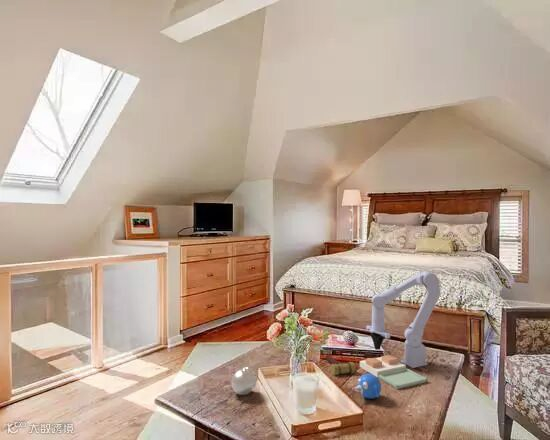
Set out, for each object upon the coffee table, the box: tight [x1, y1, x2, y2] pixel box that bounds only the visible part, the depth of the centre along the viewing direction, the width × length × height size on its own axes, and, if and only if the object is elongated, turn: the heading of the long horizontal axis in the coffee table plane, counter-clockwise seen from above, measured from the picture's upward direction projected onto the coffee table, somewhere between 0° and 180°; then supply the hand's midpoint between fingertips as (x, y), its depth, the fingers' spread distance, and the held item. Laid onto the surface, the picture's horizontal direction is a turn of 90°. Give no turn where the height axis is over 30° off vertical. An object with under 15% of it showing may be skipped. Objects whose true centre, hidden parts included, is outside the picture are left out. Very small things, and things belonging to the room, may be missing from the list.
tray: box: [377, 367, 428, 390], centre depth 149 cm, size 16×11×2 cm
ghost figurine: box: [230, 366, 257, 396], centre depth 136 cm, size 9×10×10 cm
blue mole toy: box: [351, 373, 382, 400], centre depth 134 cm, size 12×12×8 cm
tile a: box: [380, 354, 399, 365], centre depth 162 cm, size 5×5×2 cm
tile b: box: [365, 357, 382, 368], centre depth 158 cm, size 5×5×2 cm
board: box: [359, 356, 407, 378], centre depth 160 cm, size 16×12×2 cm
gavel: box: [324, 354, 356, 376], centre depth 163 cm, size 21×5×10 cm
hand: (377, 349), depth 169 cm, fingers closed
